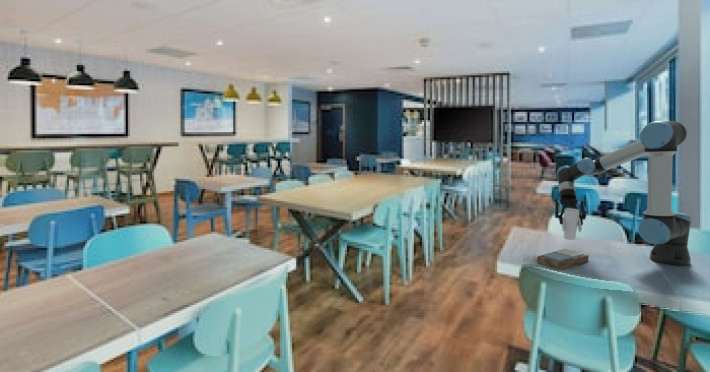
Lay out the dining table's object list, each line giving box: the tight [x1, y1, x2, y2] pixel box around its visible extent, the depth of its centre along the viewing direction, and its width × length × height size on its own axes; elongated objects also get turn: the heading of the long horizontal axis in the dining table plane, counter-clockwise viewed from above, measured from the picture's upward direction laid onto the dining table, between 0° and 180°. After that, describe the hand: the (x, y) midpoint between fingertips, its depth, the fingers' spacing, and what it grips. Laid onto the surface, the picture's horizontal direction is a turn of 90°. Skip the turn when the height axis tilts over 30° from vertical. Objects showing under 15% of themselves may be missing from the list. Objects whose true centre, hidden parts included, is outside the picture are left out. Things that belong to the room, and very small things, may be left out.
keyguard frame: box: [537, 248, 589, 271], centre depth 189 cm, size 12×22×3 cm, turn 122°
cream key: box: [556, 248, 584, 258], centre depth 191 cm, size 8×8×3 cm
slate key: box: [543, 251, 571, 262], centre depth 186 cm, size 8×8×3 cm
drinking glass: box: [563, 208, 580, 241], centre depth 204 cm, size 7×7×15 cm
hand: (572, 230), depth 201 cm, fingers closed on drinking glass, 6 cm apart
